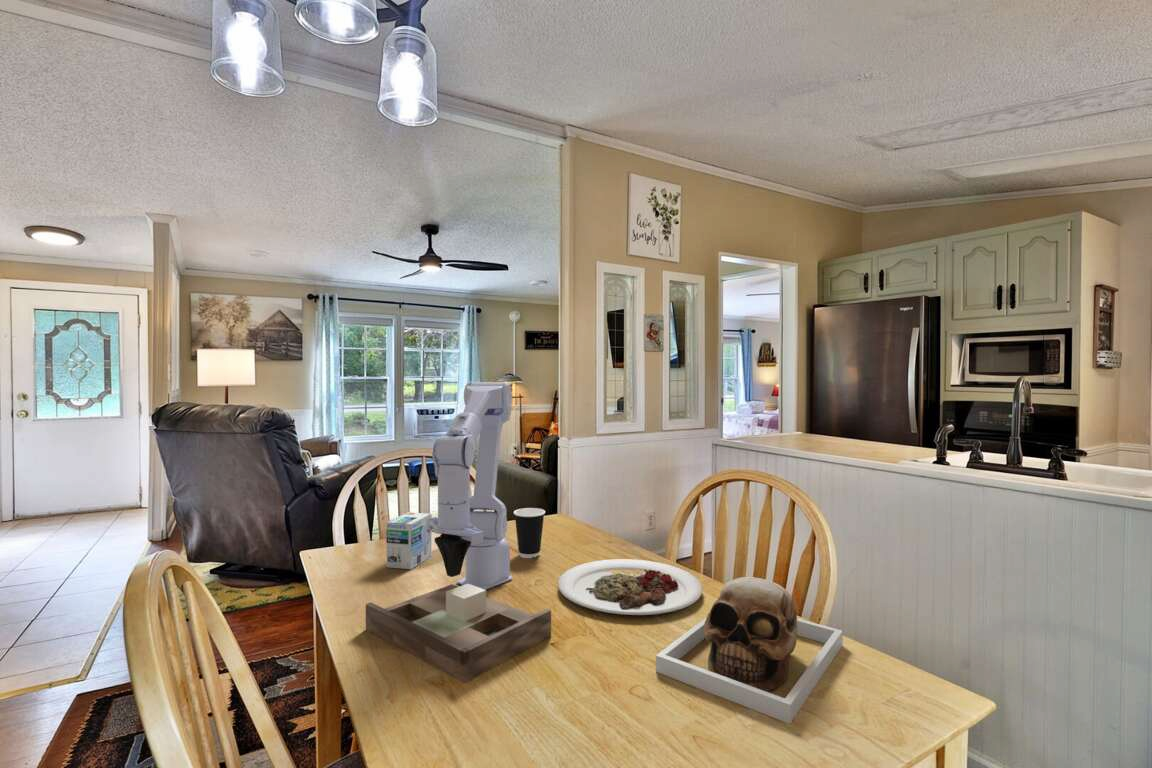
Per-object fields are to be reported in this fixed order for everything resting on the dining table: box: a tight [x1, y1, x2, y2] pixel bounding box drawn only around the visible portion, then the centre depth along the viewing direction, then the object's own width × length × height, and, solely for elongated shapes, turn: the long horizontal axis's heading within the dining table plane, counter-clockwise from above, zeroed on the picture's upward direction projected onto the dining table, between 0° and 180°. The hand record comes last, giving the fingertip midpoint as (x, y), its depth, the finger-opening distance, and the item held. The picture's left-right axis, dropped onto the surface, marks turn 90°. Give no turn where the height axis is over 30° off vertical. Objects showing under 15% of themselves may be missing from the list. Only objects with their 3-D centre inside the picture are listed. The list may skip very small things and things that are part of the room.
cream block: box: [446, 584, 487, 622], centre depth 98 cm, size 5×5×4 cm
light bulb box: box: [385, 511, 433, 570], centre depth 133 cm, size 11×7×11 cm, turn 168°
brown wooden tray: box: [365, 584, 552, 684], centre depth 96 cm, size 19×27×4 cm
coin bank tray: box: [655, 616, 843, 725], centre depth 88 cm, size 27×20×2 cm
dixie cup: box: [513, 507, 546, 559], centre depth 138 cm, size 8×8×11 cm
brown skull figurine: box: [704, 576, 798, 693], centre depth 86 cm, size 16×18×14 cm
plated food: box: [557, 558, 703, 616], centre depth 116 cm, size 30×30×3 cm
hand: (453, 574), depth 101 cm, fingers closed
